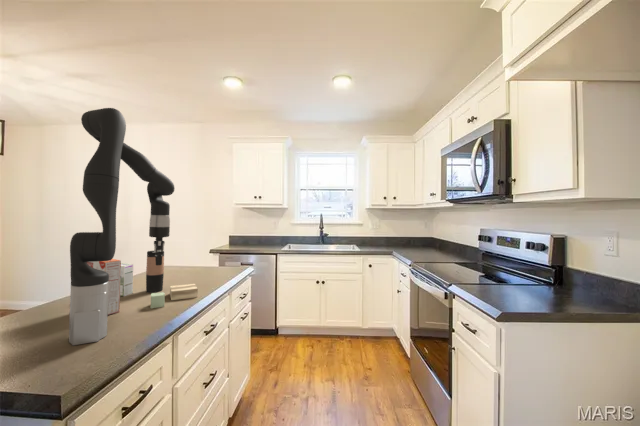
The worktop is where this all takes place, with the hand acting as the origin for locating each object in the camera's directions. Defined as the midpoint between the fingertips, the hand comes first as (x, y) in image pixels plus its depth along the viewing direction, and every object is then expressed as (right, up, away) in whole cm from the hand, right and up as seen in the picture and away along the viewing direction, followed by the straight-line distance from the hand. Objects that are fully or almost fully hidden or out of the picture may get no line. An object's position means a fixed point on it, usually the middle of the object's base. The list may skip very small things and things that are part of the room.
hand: (158, 263), depth 118 cm
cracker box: (-18, -18, -8) cm, 26 cm away
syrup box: (-25, -18, +14) cm, 34 cm away
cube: (0, -18, 0) cm, 18 cm away
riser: (+3, -18, +15) cm, 24 cm away
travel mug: (-15, -18, +22) cm, 32 cm away
